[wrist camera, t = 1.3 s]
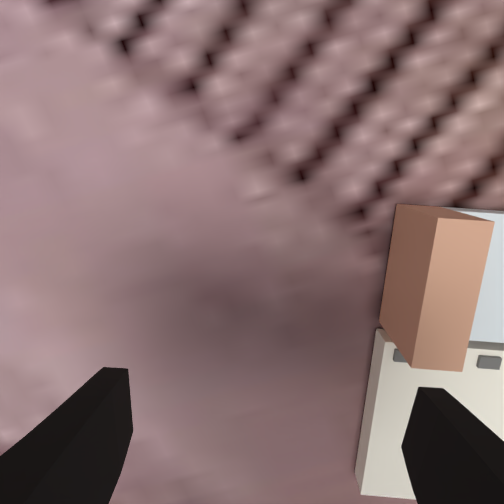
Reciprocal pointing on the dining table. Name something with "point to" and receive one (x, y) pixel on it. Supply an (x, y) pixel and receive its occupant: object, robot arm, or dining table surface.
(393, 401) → the cream flat rectangular block
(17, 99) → the dining table surface
